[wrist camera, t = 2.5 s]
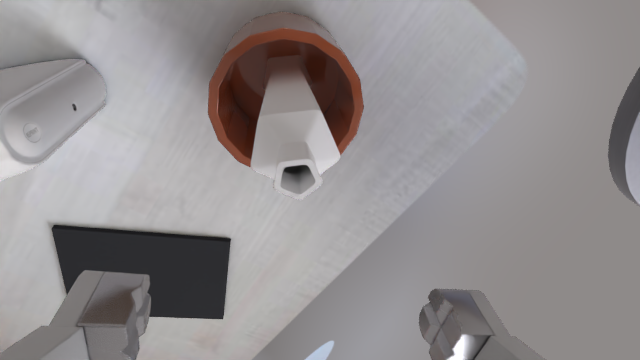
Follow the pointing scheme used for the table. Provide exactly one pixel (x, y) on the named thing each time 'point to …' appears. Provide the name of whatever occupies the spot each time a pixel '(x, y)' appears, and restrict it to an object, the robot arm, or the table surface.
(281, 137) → the white pentagonal vase
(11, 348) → the robot arm
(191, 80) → the table surface
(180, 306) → the mat
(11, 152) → the photo printer
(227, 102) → the desk pot
